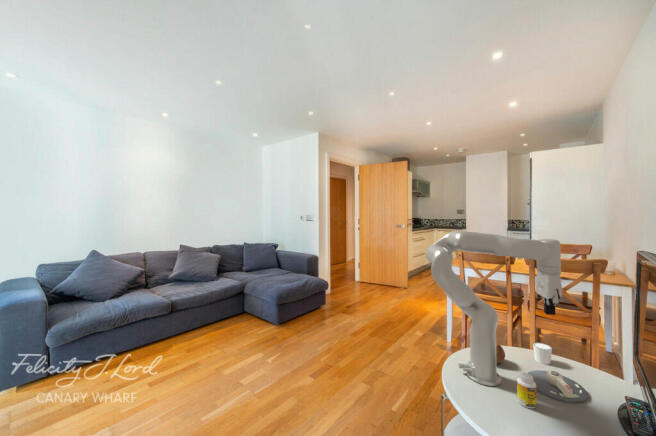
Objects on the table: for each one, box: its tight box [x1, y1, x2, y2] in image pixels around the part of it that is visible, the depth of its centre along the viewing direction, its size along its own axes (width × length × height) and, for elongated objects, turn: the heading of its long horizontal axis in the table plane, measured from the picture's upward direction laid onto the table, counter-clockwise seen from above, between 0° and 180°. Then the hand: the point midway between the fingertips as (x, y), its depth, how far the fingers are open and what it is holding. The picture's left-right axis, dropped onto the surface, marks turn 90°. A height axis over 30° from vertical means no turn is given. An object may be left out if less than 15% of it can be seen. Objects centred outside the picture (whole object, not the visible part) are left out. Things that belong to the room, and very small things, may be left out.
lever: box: [547, 370, 573, 398], centre depth 100 cm, size 11×5×4 cm, turn 166°
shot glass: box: [532, 342, 553, 365], centre depth 121 cm, size 7×7×7 cm
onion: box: [496, 342, 506, 364], centre depth 122 cm, size 10×9×10 cm
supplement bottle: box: [516, 372, 537, 409], centre depth 95 cm, size 6×6×10 cm
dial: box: [527, 369, 588, 404], centre depth 103 cm, size 18×18×2 cm
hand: (549, 313), depth 108 cm, fingers closed
